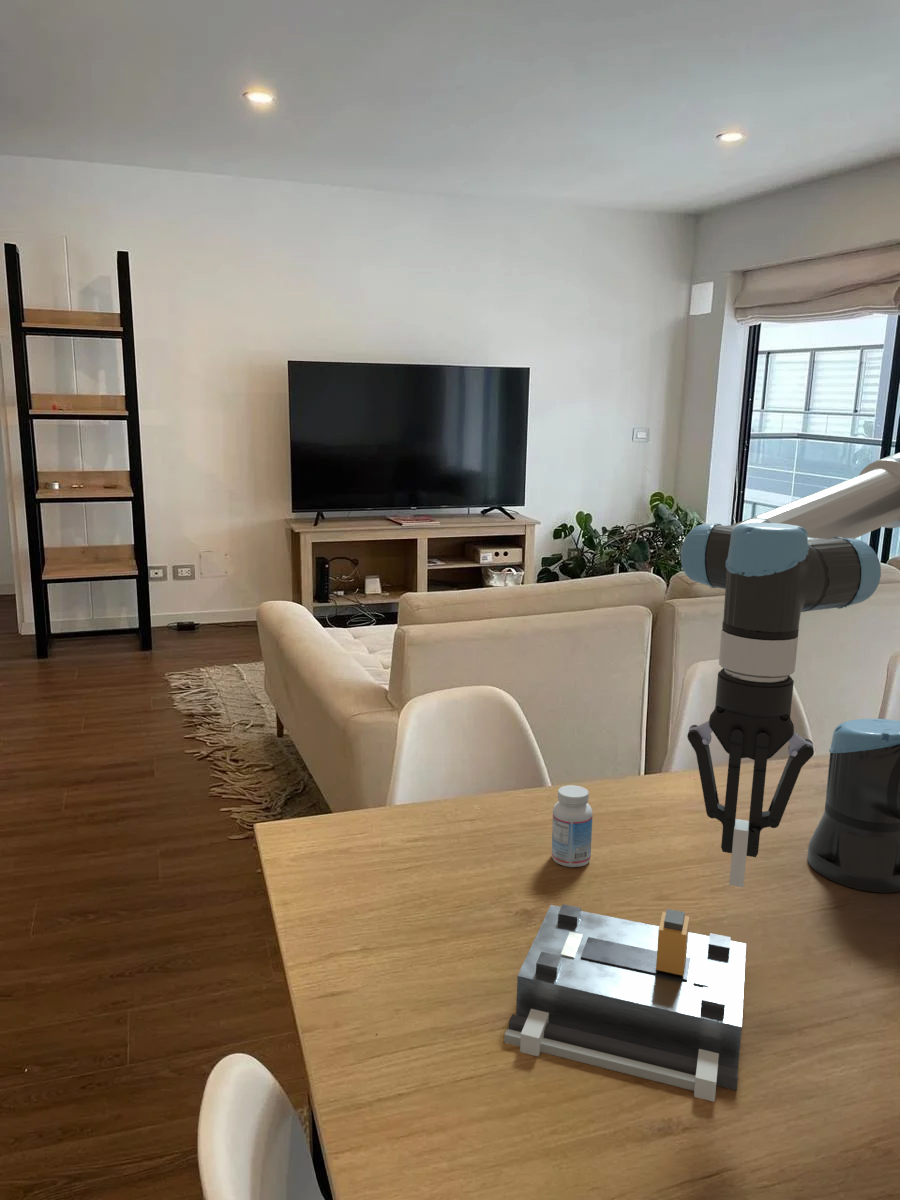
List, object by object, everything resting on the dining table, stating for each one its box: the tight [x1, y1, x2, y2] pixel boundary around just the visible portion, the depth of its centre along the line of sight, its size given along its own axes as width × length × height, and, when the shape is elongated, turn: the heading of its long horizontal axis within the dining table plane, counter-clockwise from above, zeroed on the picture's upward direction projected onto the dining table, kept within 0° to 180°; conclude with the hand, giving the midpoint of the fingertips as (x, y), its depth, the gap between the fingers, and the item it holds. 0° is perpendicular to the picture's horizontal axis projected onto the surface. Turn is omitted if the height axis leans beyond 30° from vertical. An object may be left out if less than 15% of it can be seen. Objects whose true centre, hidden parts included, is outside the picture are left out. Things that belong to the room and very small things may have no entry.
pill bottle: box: [551, 784, 593, 868], centre depth 135 cm, size 6×6×11 cm
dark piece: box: [503, 1009, 739, 1103], centre depth 103 cm, size 24×26×2 cm
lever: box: [656, 908, 690, 975], centre depth 101 cm, size 3×4×6 cm
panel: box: [515, 903, 747, 1070], centre depth 103 cm, size 24×16×6 cm, turn 70°
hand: (736, 880), depth 97 cm, fingers closed
